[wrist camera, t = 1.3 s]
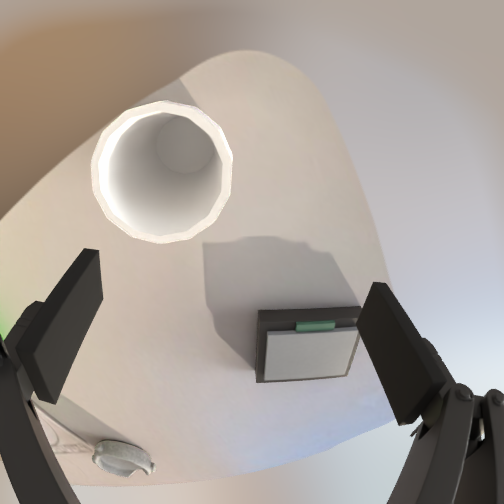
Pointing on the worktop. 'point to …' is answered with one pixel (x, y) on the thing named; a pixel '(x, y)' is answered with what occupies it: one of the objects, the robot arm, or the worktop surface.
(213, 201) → the foam cup
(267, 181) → the worktop surface
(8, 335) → the robot arm
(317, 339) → the scale
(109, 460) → the dish
